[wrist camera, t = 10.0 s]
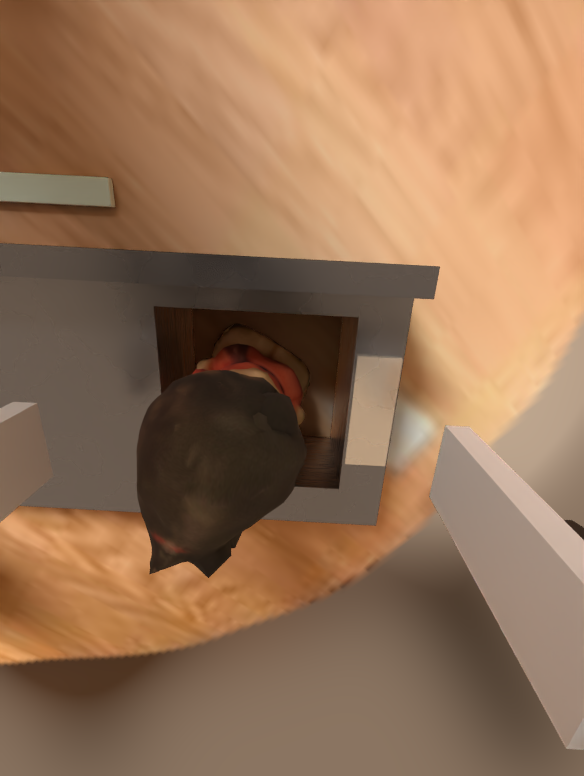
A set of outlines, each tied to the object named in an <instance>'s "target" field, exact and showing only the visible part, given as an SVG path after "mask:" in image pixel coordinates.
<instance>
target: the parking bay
mask: <svg viewBox="0 0 584 776" xmlns="http://www.w3.org/2000/svg"><path fill="white" fill-rule="evenodd" d="M0 202H19V203H38V204H57V205H76V206H95V207H114V208H115V200H114V192H113V183H112V179H110V178H108V177H91V176H71V175H52V174H33V173H14V172H0Z"/></svg>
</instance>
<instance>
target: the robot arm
mask: <svg viewBox="0 0 584 776" xmlns="http://www.w3.org/2000/svg"><path fill="white" fill-rule="evenodd" d="M51 477H53V472H52V468H51V463H50V459H49V454H48V450H47V445H46V441H45V436H44V432H43V427H42V423H41V418H40V414H39V409H38V405H37V403H27V402H12V403H10V404H8V405H6V406H4V407H2V408H0V522H1V521H2V520H3V519H5V518H6V517H7V516H8V515H9V514H10V513H11V512H13V511H14V510H15V509H16V508H17V507H18V506H19V505H21V504H22V503H23V502H24V501H25V500H26V499H27V498H29V497H30V496H31V495H32V494H33V493H34V492H35V491H37V490H38V489H39V488H40V487H41V486H42V485H43V484H45V483H46V482H47V481H48V480H49V479H50V478H51ZM429 497H430V499H431V501H432V503H433V505H434V506H435V508H436V510H437V512H438V514H439V516H440V517H441V519H442V521H443V523H444V525H445V526H446V528H447V530H448V532H449V534H450V536H451V538H452V539H453V541H454V543H455V545H456V547H457V549H458V551H459V552H460V554H461V556H462V558H463V559H464V562H465V563H466V565H467V567H468V569H469V571H470V572H471V574H472V576H473V578H474V580H475V582H476V584H477V586H478V587H479V589H480V591H481V593H482V595H483V596H484V598H485V600H486V602H487V604H488V606H489V607H490V609H491V611H492V613H493V615H494V617H495V619H496V620H497V622H498V624H499V626H500V628H501V630H502V631H503V633H504V635H505V637H506V639H507V640H508V642H509V644H510V646H511V648H512V650H513V652H514V654H515V655H516V657H517V659H518V661H519V663H520V665H521V666H522V668H523V670H524V672H525V674H526V676H527V678H528V679H529V681H530V683H531V685H532V687H533V689H534V690H535V692H536V694H537V696H538V698H539V699H540V701H541V703H542V705H543V707H544V708H545V711H546V713H547V714H548V716H549V718H550V720H551V722H552V724H553V725H554V727H555V729H556V731H557V733H558V734H559V736H560V738H561V740H562V742H563V744H564V746H565V747H566V749H579V750H584V528H583V527H582V526H580V525H579V524H577V523H575V522H574V521H572V520H563V519H562V518H561V517H560V516H559V515H558V514H557V513H556V512H555V511H554V510H553V509H552V508H551V507H550V506H549V505H548V504H547V503H546V502H545V501H543V499H542V498H541V497H540V496H539V495H538V494H537V493H536V492H535V491H534V490H533V489H532V488H530V486H529V485H528V484H527V483H526V482H525V481H524V480H523V479H521V477H520V476H518V475H517V473H515V471H513V470H512V469H511V468H510V467H509V466H508V465H507V464H506V463H505V462H504V461H503V460H502V459H501V458H500V457H499V456H498V455H497V454H496V453H495V452H494V451H493V450H492V449H491V448H490V447H489V446H488V445H487V444H486V443H485V442H484V441H483V440H482V439H481V438H480V437H479V436H478V435H477V434H476V433H475V432H474V431H473V430H472V429H471V428H470V427H466V426H448V425H445V429H444V433H443V438H442V442H441V447H440V451H439V456H438V460H437V464H436V469H435V473H434V478H433V482H432V486H431V491H430V495H429Z"/></svg>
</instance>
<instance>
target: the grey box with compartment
mask: <svg viewBox="0 0 584 776" xmlns="http://www.w3.org/2000/svg"><path fill="white" fill-rule="evenodd" d="M439 269H440V267H438V266H419V265H400V264H381V263H362V262H344V261H325V260H306V259H287V258H268V257H250V256H231V255H212V254H193V253H174V252H155V251H137V250H118V249H99V248H80V247H61V246H42V245H24V244H5V243H0V408H2V407H4V406H6V405H8V404H10V403H12V402H27V403H37V405H38V409H39V414H40V418H41V423H42V427H43V432H44V436H45V441H46V445H47V450H48V454H49V459H50V463H51V468H52V472H53V477H51V478H50V479H49V480H48V481H47V482H46V483H45V484H43V485H42V486H41V487H40V488H39V489H38V490H37V491H35V492H34V493H33V494H32V495H31V496H30V497H29V498H27V499H26V500H25V501H24V502H23V503H22V504H21V505H19V506H34V507H52V508H69V509H87V510H105V511H123V512H141V510H140V506H139V502H138V497H137V455H136V451H137V443H138V437H139V431H140V427H141V424H142V421H143V418H144V416H145V413H146V411H147V409H148V407H149V406H150V404H151V403H152V402H153V401H154V400H155V399H156V398H157V397H158V396H159V395H161V394H162V393H163V392H164V391H165V390H166V389H167V388H168V386H169V385H170V384H171V383H172V382H173V381H175V380H178V379H181V378H183V377H185V376H188V375H191V374H192V373H193V372H194V371H195V358H194V338H193V317H192V308H195V309H214V310H232V311H251V312H269V313H288V314H307V315H325V316H342V325H341V335H340V345H339V355H338V366H337V376H336V386H335V396H334V406H333V416H332V426H331V436H330V438H326V437H307V436H303V439H304V443H305V446H306V449H307V455H306V458H305V462H304V465H303V466H302V468H301V469H300V471H299V474H298V476H297V478H296V482H295V487H294V489H293V491H292V493H291V494H290V495H289V497H288V498H287V499H286V500H285V502H284V503H283V504H281V505H280V506H278V507H277V508H276V509H274V510H273V511H271V512H270V513H268V514H267V515H265V516H264V517H263V518H261V519H267V520H285V521H303V522H321V523H339V524H357V525H374V526H376V522H377V516H378V510H379V504H380V498H381V492H382V486H383V480H384V474H385V468H386V462H387V456H388V450H389V445H390V439H391V433H392V427H393V421H394V415H395V409H396V403H397V397H398V391H399V385H400V379H401V373H402V367H403V361H404V355H405V349H406V343H407V337H408V331H409V325H410V319H411V313H412V307H413V301H414V298H420V299H434V296H435V291H436V285H437V280H438V275H439Z"/></svg>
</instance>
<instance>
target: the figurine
mask: <svg viewBox="0 0 584 776" xmlns="http://www.w3.org/2000/svg"><path fill="white" fill-rule="evenodd" d="M309 383H310V373H309V371H308V369H307V367H306V365H305V364H304V363H303V362H302V361H301V360H300V359H299V358H297V357H296V356H294V355H293V354H292V353H290V352H289V351H288V350H286V349H285V348H283V347H282V346H280V345H279V344H277V343H276V342H274V341H273V340H271V339H269V338H268V337H266V336H264V335H263V334H261V333H259V332H257V331H255V330H254V329H252V328H249V327H247V326H244V325H241V324H234V325H232V326H230V327H229V328H227V329H226V330H224V332H223V335H222V337H220V338H218V341H217V342H216V343H215V345H214V352H213V356H212V358H209V359H204V360H201V361H200V362H199V363H198V364H197V368H196V370H195V371H194V372H193V373H192V374H191V375H188V376H185V377H183V378H181V379H178V380H175V381H173V382H172V383H171V384H170V385H169V386H168V388H167V389H166V390H165V391H164V392H163V393H162V394H161V395H159V396H158V397H157V398H156V399H155V400H154V401H153V402H152V403H151V404H150V406H149V407H148V409H147V411H146V413H145V416H144V418H143V421H142V424H141V427H140V431H139V437H138V443H137V451H136V455H137V497H138V502H139V506H140V510H141V513H142V517H143V519H144V521H145V524H146V527H147V530H148V533H149V537H150V540H151V545H152V557H151V561H150V574H152V573H155V572H157V571H160V570H163V569H166V568H168V567H171V566H174V565H176V564H179V563H181V562H187V561H188V562H190V563H192V564H194V565H195V566H196V567H197V568H198V569H199V570H201V571H202V572H203V573H204V574H205V575H206V576H207V577H208V578H209V577H210V576H211V575H212V574H213V573H214V572H215V571H216V570H217V569H218V568H219V567H220V566H221V565H222V564H223V563H224V562H225V561H226V560H227V559H228V558H229V557H230V556H231V548H235V547H236V544H237V542H238V540H239V538H240V536H241V533H242V531H244V530H245V529H247V528H249V527H251V526H252V525H253V524H255V523H256V522H257V521H259V520H260V519H261V518H263V517H264V516H265V515H267V514H268V513H270V512H271V511H273V510H274V509H276V508H277V507H278V506H280V505H281V504H283V503H284V502H285V500H286V499H287V498H288V497H289V495H290V494H291V493H292V491H293V489H294V487H295V482H296V478H297V476H298V474H299V471H300V469H301V468H302V466H303V465H304V462H305V458H306V455H307V449H306V446H305V443H304V439H303V436H302V433H301V431H300V428H299V425H300V424H301V423H302V421H303V420H304V417H305V413H304V411H303V409H302V408H301V402H302V400H303V398H304V396H305V394H306V392H307V388H308V386H309Z"/></svg>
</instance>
